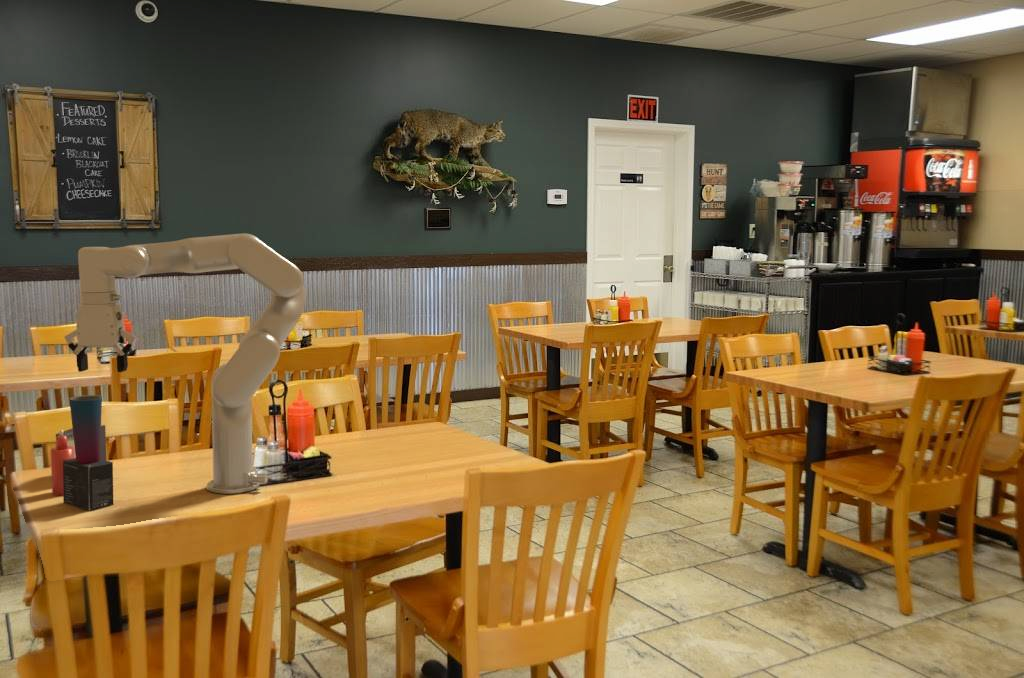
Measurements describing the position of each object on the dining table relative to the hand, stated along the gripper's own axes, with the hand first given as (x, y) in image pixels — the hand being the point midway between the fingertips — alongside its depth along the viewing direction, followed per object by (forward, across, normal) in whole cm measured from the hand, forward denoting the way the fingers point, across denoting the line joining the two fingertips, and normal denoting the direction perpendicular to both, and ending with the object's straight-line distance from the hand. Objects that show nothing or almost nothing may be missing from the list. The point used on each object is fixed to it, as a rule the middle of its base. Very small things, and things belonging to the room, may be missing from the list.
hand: (102, 371), depth 210 cm
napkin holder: (+31, +16, -15) cm, 37 cm away
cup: (+20, +1, +6) cm, 21 cm away
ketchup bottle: (+31, +12, -1) cm, 33 cm away
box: (+31, +2, +6) cm, 32 cm away
